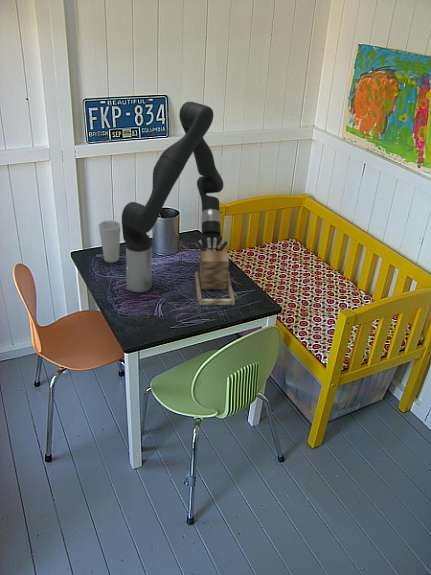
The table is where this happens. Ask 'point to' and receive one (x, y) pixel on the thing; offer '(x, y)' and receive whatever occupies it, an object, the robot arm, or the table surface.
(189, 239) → the table surface
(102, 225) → the cup
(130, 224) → the robot arm
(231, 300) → the tray
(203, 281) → the brown wooden block
